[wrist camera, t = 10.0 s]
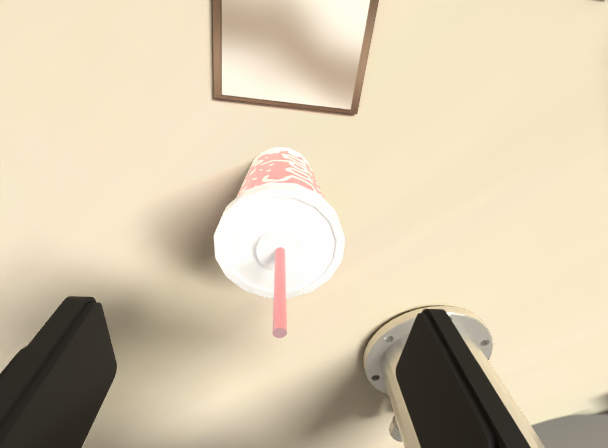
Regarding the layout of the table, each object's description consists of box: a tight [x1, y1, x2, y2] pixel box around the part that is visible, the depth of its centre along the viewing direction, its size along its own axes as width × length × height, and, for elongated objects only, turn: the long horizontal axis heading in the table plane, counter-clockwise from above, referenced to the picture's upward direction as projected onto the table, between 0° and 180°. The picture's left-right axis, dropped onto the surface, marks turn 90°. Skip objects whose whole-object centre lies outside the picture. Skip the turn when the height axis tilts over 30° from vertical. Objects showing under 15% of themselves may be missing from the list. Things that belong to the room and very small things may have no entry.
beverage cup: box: [214, 147, 345, 338], centre depth 17 cm, size 6×6×14 cm
